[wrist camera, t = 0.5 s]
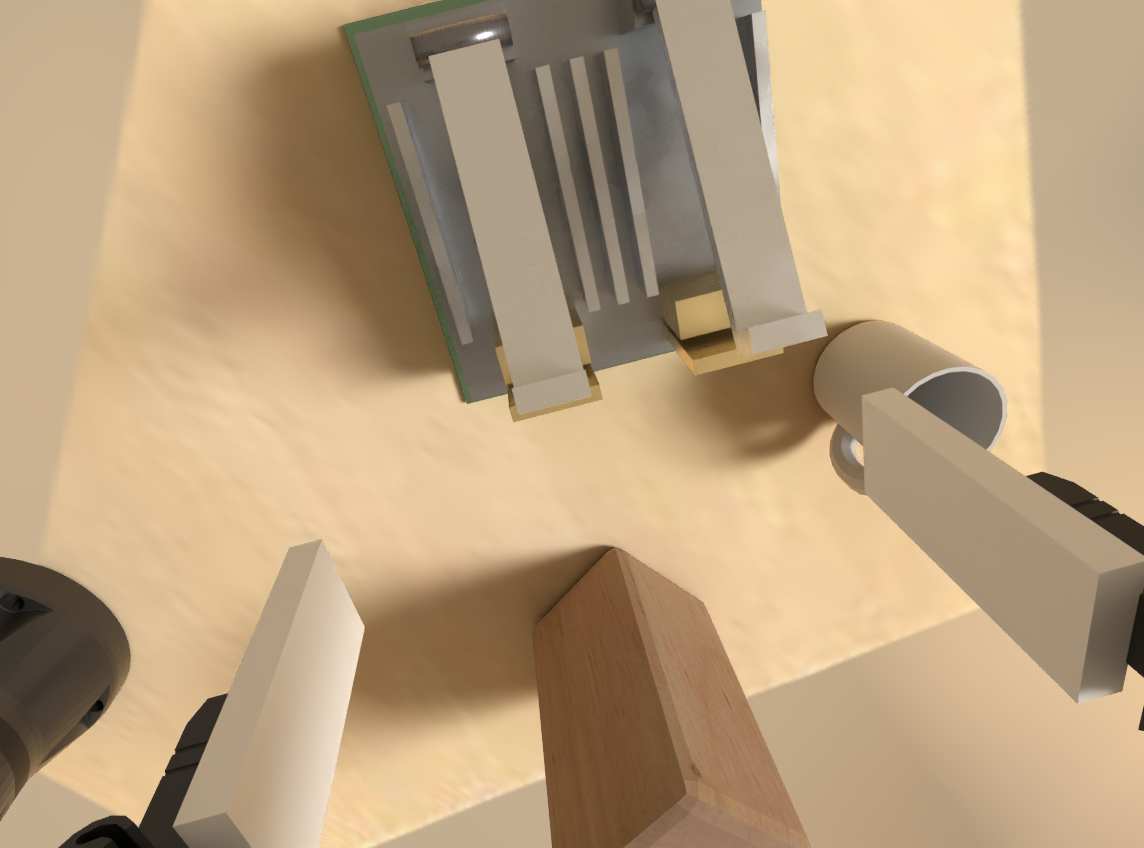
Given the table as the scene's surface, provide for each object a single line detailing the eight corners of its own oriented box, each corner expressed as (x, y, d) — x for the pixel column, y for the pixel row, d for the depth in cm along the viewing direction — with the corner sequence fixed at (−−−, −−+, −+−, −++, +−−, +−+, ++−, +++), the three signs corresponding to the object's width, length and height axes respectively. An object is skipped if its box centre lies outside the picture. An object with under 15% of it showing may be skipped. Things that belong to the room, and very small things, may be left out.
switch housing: (467, 402, 42) (462, 484, 33) (344, 25, 33) (290, -4, 24) (772, 323, 43) (851, 384, 33) (736, -73, 33) (832, -140, 24)
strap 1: (510, 417, 27) (505, 418, 25) (414, 45, 27) (399, 9, 24) (601, 394, 27) (605, 392, 25) (506, 22, 27) (501, -17, 24)
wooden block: (613, 537, 48) (689, 793, 30) (708, 599, 52) (826, 862, 34) (526, 626, 51) (549, 910, 33) (622, 679, 54) (690, 962, 37)
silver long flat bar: (725, 362, 27) (741, 357, 25) (632, -10, 27) (639, -51, 24) (816, 339, 27) (840, 332, 25) (724, -33, 27) (740, -76, 24)
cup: (934, 337, 44) (1033, 389, 36) (857, 464, 48) (931, 536, 40) (844, 302, 43) (928, 348, 35) (771, 437, 46) (831, 507, 38)
